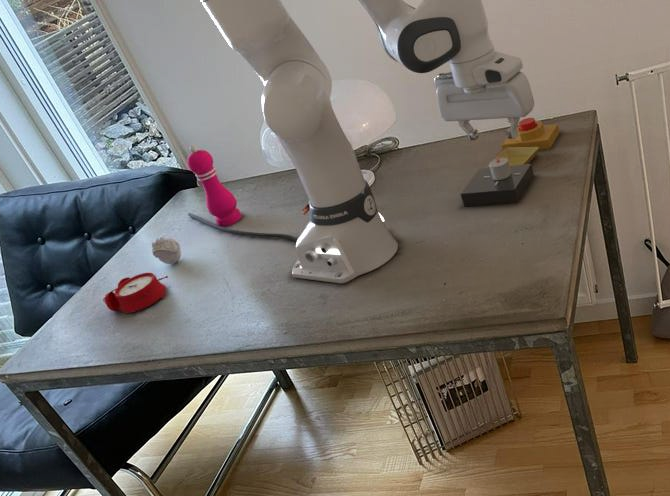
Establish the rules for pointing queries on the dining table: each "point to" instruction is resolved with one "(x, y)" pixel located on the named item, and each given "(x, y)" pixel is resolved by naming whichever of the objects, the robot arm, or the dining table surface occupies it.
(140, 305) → the alarm clock
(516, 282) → the dining table surface
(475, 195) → the panel
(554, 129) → the yellow button base
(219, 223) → the pepper mill
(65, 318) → the dining table surface
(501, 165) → the knob
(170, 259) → the white lumpy rounded piece
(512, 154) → the yellow square tray
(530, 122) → the stop button
